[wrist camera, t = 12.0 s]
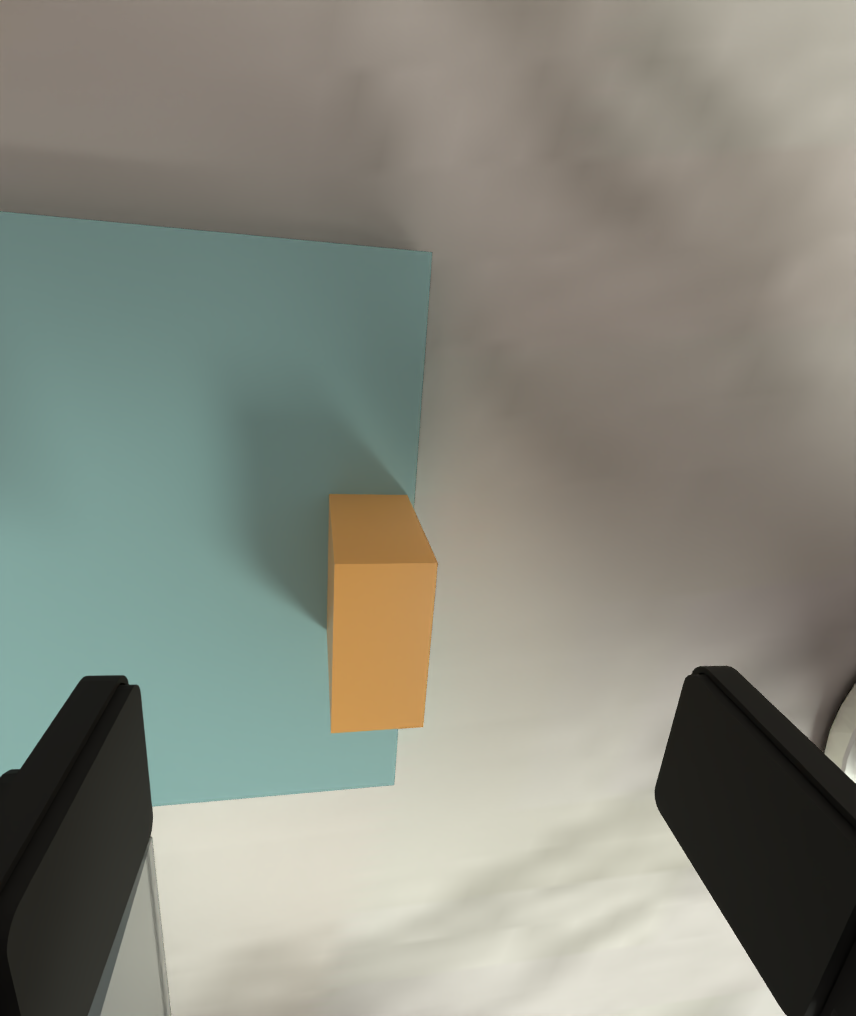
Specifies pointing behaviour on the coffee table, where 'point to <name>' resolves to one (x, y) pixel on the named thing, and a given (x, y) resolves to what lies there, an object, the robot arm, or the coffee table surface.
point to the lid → (214, 498)
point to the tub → (136, 955)
